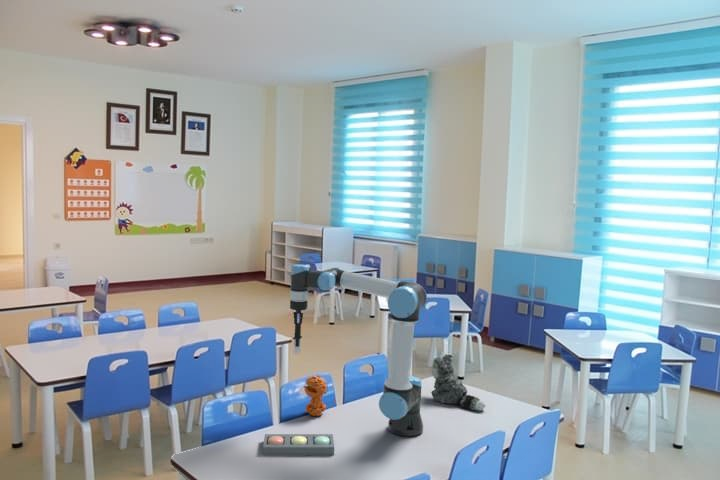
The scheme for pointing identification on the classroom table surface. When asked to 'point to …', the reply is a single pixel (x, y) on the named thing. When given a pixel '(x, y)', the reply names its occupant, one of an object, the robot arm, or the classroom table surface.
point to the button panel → (298, 445)
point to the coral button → (275, 440)
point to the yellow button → (298, 440)
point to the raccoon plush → (451, 386)
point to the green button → (321, 440)
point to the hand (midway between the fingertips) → (296, 353)
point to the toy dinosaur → (315, 395)
